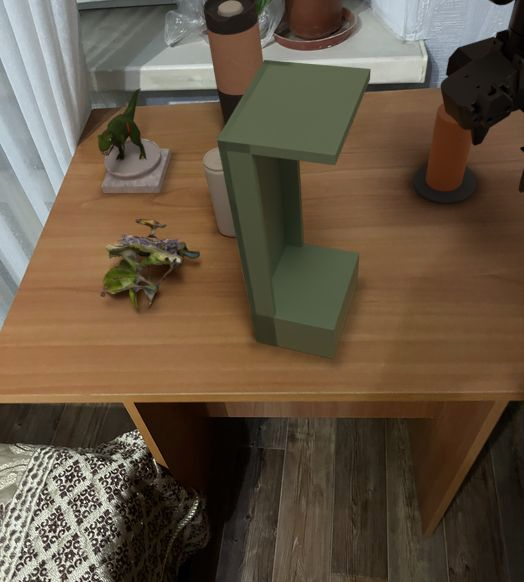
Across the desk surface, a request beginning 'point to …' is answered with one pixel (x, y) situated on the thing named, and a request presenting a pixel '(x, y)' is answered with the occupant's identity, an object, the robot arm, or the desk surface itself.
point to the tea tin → (447, 153)
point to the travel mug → (233, 48)
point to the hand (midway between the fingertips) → (499, 166)
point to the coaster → (450, 196)
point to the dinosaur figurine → (131, 156)
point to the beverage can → (218, 192)
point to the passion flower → (144, 247)
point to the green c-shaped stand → (290, 200)
